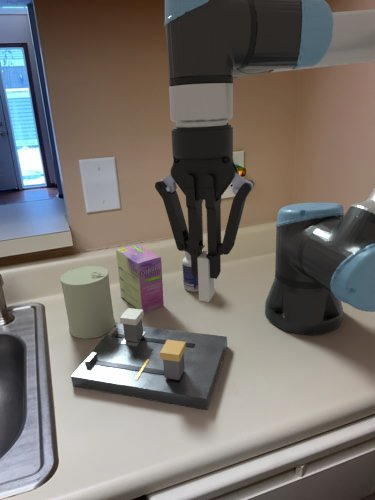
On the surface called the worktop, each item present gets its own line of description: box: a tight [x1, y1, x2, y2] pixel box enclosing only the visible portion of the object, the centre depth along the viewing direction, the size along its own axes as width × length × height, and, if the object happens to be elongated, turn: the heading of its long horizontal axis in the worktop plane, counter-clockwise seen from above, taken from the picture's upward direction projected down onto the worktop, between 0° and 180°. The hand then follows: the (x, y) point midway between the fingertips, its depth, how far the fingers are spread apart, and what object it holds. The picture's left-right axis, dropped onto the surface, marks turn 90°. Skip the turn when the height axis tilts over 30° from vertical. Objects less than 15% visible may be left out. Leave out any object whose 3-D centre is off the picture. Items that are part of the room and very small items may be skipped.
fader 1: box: [119, 307, 145, 342], centre depth 69 cm, size 3×3×5 cm
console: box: [70, 322, 228, 411], centre depth 65 cm, size 22×16×3 cm
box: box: [115, 244, 165, 314], centre depth 85 cm, size 10×6×12 cm, turn 35°
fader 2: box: [160, 340, 186, 380], centre depth 59 cm, size 3×3×5 cm
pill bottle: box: [181, 251, 199, 293], centre depth 91 cm, size 5×5×10 cm
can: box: [59, 265, 116, 340], centre depth 76 cm, size 9×9×12 cm
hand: (206, 296), depth 55 cm, fingers closed
